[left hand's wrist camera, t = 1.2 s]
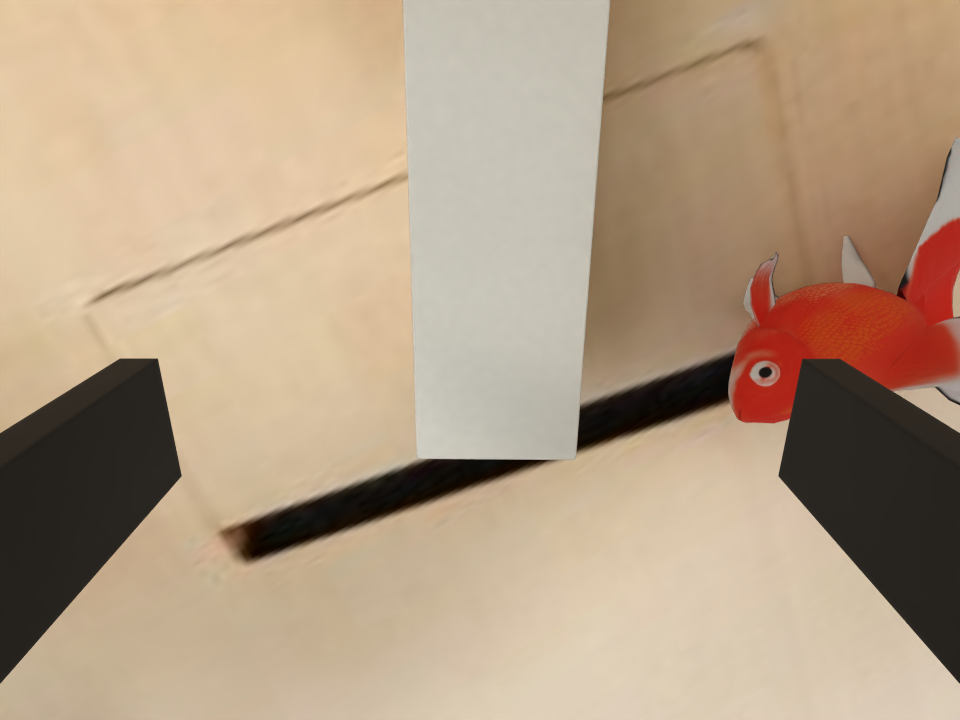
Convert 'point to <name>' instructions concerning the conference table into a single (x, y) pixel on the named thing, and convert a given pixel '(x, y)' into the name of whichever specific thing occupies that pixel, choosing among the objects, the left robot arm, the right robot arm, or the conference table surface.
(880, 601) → the conference table surface
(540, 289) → the bar
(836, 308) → the fish
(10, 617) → the left robot arm
